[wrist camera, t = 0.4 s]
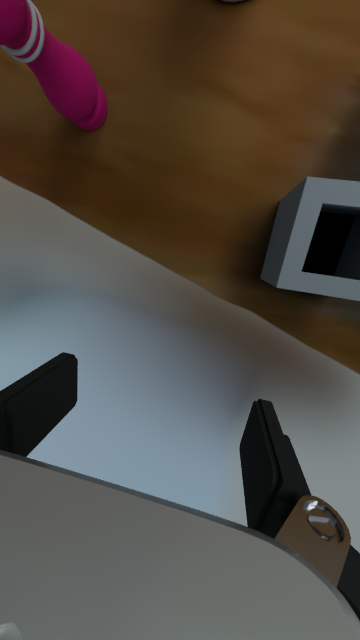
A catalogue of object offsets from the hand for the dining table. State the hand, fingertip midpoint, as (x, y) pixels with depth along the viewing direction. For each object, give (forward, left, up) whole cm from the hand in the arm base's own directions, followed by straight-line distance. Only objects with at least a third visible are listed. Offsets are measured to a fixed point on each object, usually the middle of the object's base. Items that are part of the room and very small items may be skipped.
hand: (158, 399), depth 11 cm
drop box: (-11, +15, -30) cm, 36 cm away
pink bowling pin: (-27, -23, -31) cm, 46 cm away
